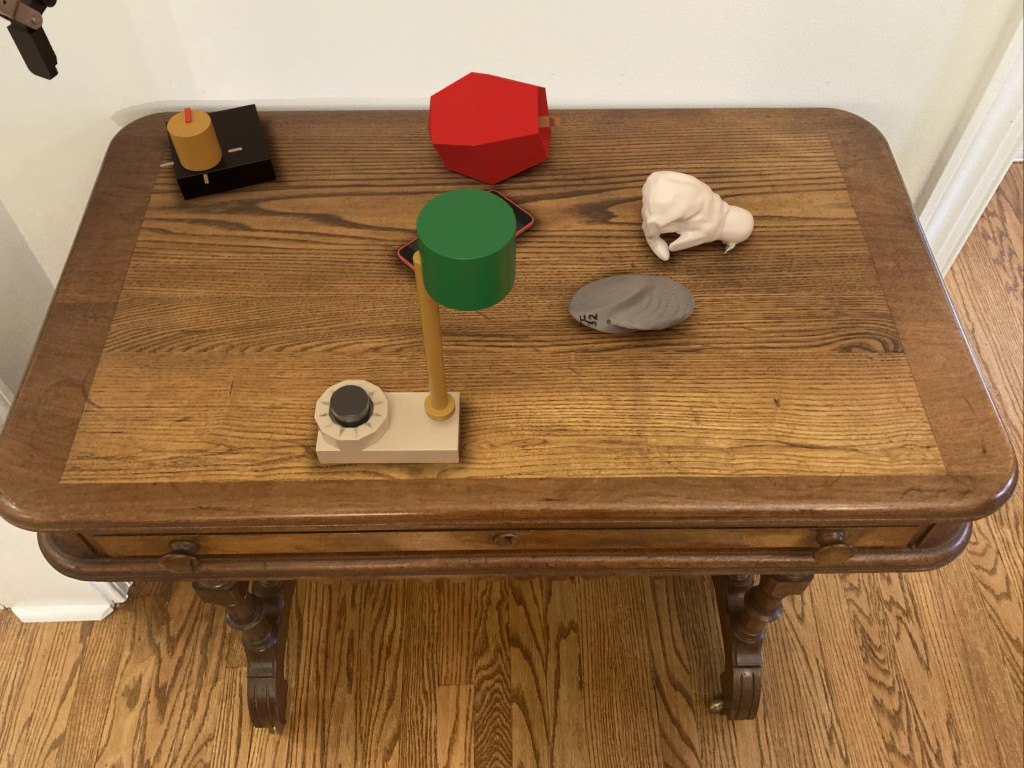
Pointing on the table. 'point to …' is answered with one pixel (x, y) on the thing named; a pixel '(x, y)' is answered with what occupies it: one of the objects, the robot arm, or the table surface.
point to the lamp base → (388, 430)
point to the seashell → (631, 303)
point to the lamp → (460, 271)
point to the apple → (490, 126)
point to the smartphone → (522, 216)
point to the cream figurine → (689, 214)
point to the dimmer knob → (195, 140)
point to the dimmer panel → (229, 156)
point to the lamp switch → (350, 406)
